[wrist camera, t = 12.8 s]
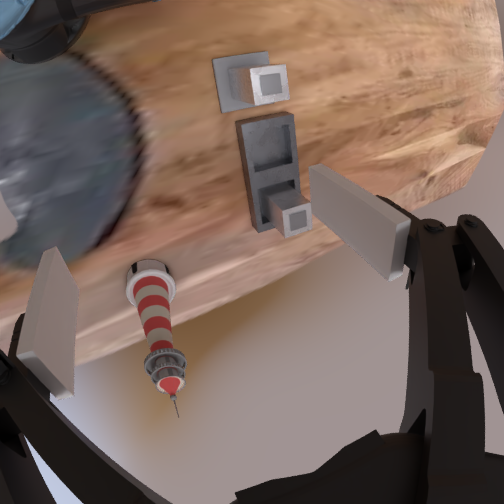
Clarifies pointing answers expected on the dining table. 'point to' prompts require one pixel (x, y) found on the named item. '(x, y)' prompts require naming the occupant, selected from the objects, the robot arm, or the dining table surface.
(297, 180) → the rail
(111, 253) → the dining table surface
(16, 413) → the robot arm
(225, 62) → the mat
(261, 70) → the grey square peg
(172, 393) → the miniature lighthouse
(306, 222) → the silver square post
